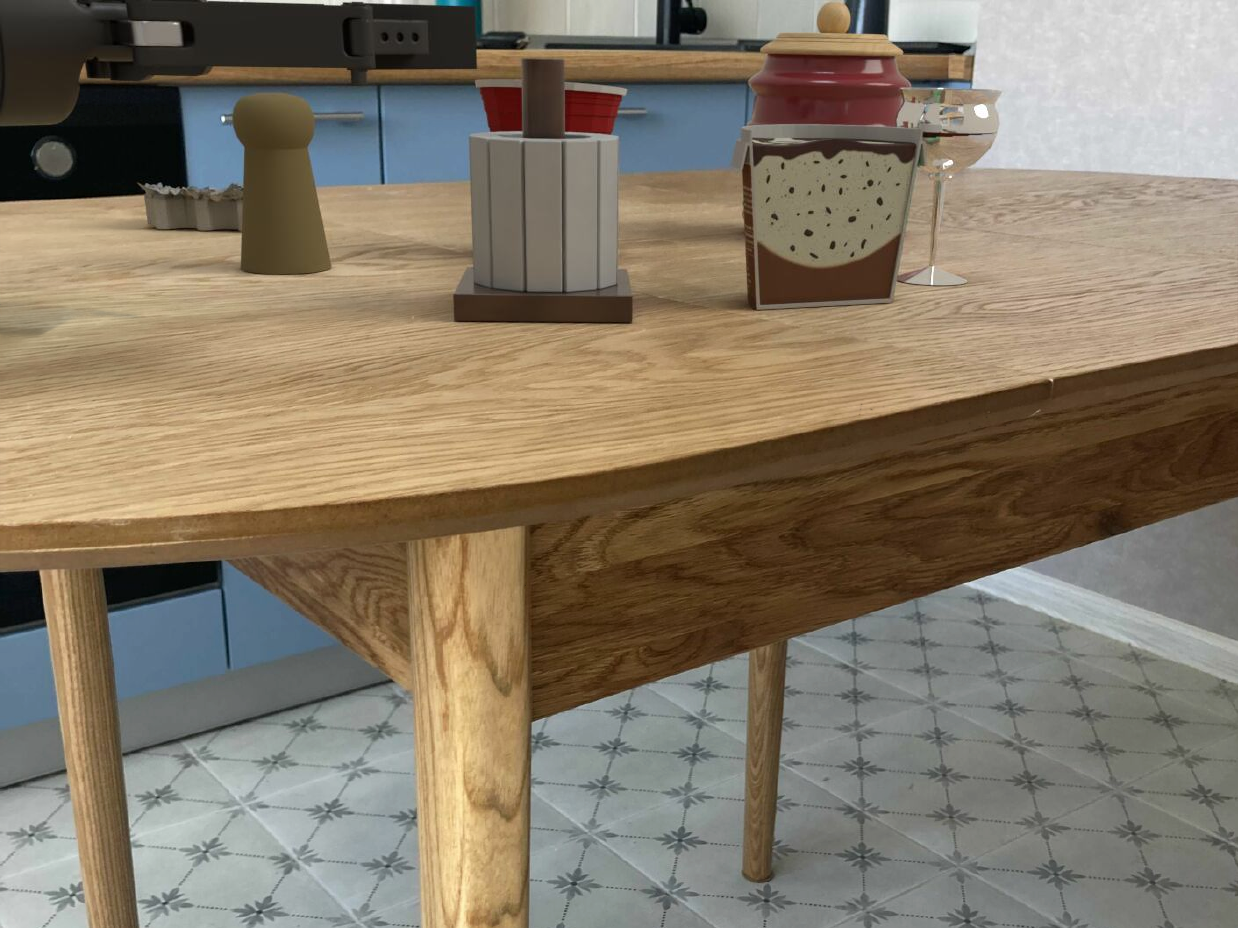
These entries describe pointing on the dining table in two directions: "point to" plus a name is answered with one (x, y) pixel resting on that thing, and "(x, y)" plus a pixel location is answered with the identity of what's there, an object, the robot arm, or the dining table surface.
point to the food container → (825, 211)
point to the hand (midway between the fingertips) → (392, 34)
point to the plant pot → (544, 211)
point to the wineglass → (947, 149)
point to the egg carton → (194, 207)
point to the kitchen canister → (828, 77)
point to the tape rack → (489, 304)
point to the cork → (279, 187)
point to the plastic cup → (583, 105)
